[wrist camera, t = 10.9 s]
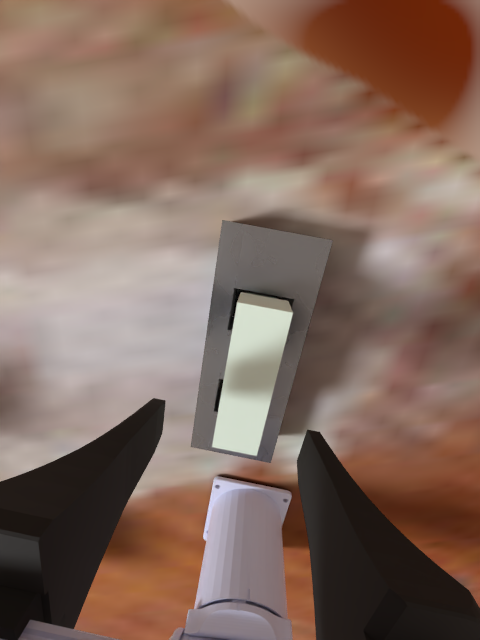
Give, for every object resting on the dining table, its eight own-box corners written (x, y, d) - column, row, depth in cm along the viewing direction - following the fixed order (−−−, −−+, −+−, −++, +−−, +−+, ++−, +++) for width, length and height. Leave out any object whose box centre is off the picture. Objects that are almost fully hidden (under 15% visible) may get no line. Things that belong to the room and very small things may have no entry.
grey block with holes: (269, 436, 24) (270, 462, 21) (199, 422, 24) (190, 446, 22) (321, 239, 18) (332, 240, 15) (228, 222, 18) (222, 220, 16)
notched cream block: (258, 396, 23) (256, 456, 17) (225, 390, 23) (211, 447, 17) (283, 288, 20) (292, 312, 14) (244, 280, 20) (237, 302, 14)
